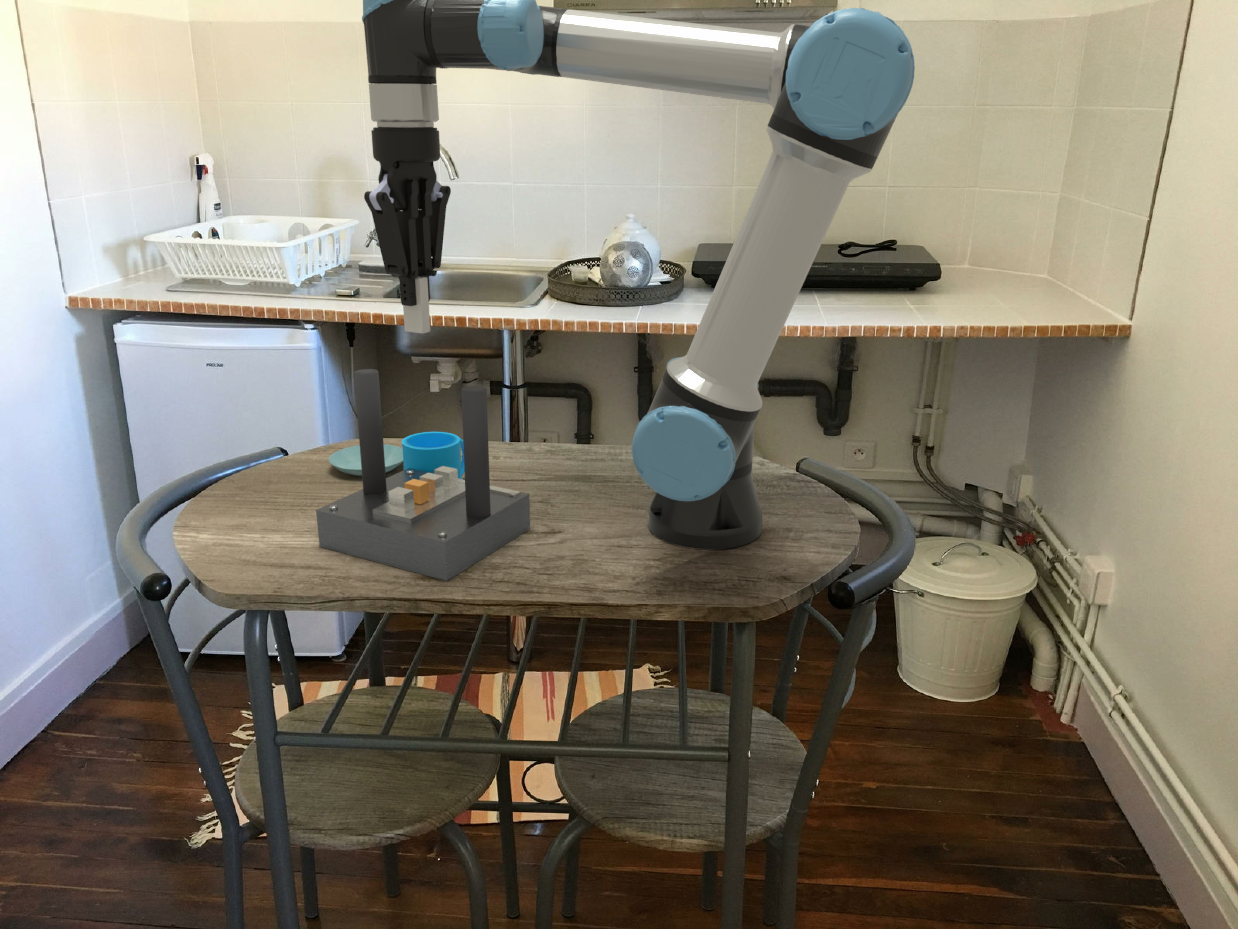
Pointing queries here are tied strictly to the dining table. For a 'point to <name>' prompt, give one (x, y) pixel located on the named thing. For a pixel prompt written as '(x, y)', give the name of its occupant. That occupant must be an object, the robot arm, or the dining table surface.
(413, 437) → the mug
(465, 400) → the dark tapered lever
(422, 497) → the orange cube
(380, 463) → the dark grey upright post
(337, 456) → the saucer
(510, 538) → the breaker panel
